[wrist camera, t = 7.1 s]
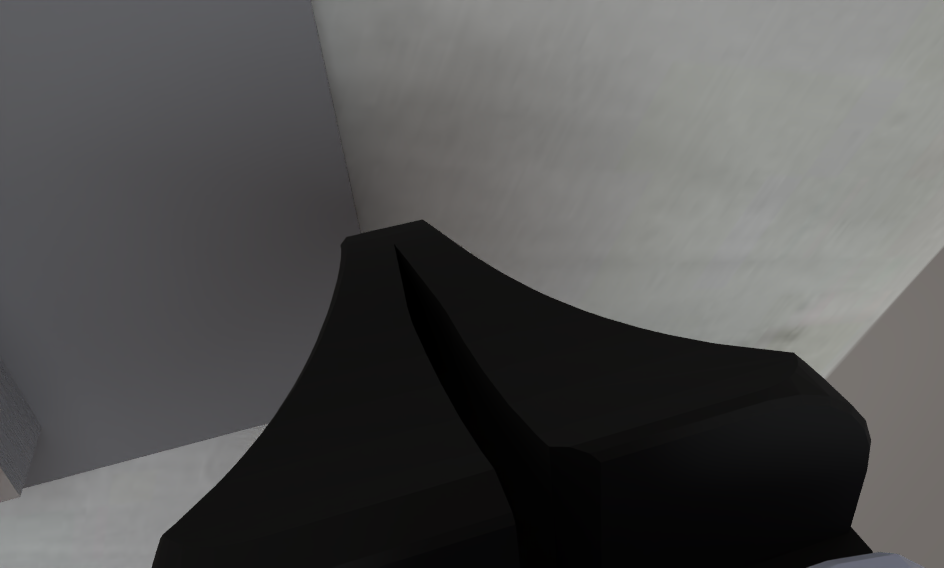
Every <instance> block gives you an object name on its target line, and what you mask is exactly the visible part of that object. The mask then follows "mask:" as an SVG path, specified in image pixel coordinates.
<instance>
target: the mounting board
mask: <svg viewBox="0 0 944 568" xmlns="http://www.w3.org/2000/svg"><path fill="white" fill-rule="evenodd" d="M357 234H361V232H360V228H359V223H358V218H357V214H356V209H355V204H354V200H353V195H352V190H351V186H350V181H349V177H348V172H347V167H346V163H345V158H344V153H343V149H342V144H341V139H340V135H339V130H338V125H337V121H336V116H335V111H334V107H333V102H332V97H331V93H330V88H329V83H328V79H327V74H326V69H325V65H324V60H323V55H322V51H321V46H320V41H319V37H318V32H317V28H316V23H315V18H314V14H313V9H312V4H311V0H0V357H1V359H2V361H3V362H4V364H5V366H6V367H7V369H8V371H9V372H10V374H11V376H12V377H13V379H14V381H15V382H16V384H17V386H18V388H19V389H20V391H21V393H22V394H23V396H24V398H25V399H26V401H27V403H28V404H29V406H30V408H31V409H32V411H33V413H34V414H35V416H36V418H37V419H38V421H39V423H40V424H41V426H42V428H41V431H40V434H39V437H38V441H37V444H36V447H35V450H34V454H33V457H32V460H31V463H30V467H29V470H28V473H27V476H26V480H25V483H24V486H23V488H26V487H30V486H34V485H38V484H41V483H45V482H49V481H53V480H56V479H60V478H64V477H68V476H71V475H75V474H79V473H83V472H86V471H90V470H94V469H98V468H101V467H105V466H109V465H113V464H116V463H120V462H124V461H128V460H131V459H135V458H139V457H143V456H146V455H150V454H154V453H158V452H162V451H165V450H169V449H173V448H177V447H180V446H184V445H188V444H192V443H195V442H199V441H203V440H207V439H210V438H214V437H218V436H222V435H225V434H229V433H233V432H237V431H240V430H244V429H248V428H252V427H255V426H259V425H263V424H267V423H270V421H271V420H272V418H273V417H274V416H275V414H276V413H277V411H278V409H279V408H280V406H281V405H282V403H283V402H284V400H285V399H286V397H287V395H288V394H289V392H290V391H291V389H292V388H293V386H294V384H295V382H296V381H297V379H298V377H299V375H300V373H301V372H302V370H303V368H304V366H305V364H306V362H307V360H308V358H309V356H310V354H311V352H312V350H313V348H314V345H315V343H316V341H317V338H318V336H319V333H320V330H321V328H322V325H323V323H324V320H325V318H326V315H327V313H328V310H329V307H330V303H331V300H332V296H333V293H334V289H335V286H336V282H337V278H338V273H339V268H340V261H341V246H340V245H341V244H342V242H343V241H344V239H345V238H346V237H348V236H353V235H357Z"/></svg>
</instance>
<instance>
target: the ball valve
mask: <svg viewBox="0 0 944 568" xmlns="http://www.w3.org/2000/svg"><path fill="white" fill-rule="evenodd" d="M41 428H42V426H41V424H40V423H39V421H38V419H37V418H36V416H35V414H34V413H33V411H32V409H31V408H30V406H29V404H28V403H27V401H26V399H25V398H24V396H23V394H22V393H21V391H20V389H19V388H18V386H17V384H16V382H15V381H14V379H13V377H12V376H11V374H10V372H9V371H8V369H7V367H6V366H5V364H4V362H3V361H2V359H1V357H0V502H3V501H7V500H10V499H14V498H18V497H20V496H21V493H22V489H23V486H24V483H25V480H26V476H27V473H28V470H29V467H30V463H31V460H32V457H33V454H34V450H35V447H36V444H37V441H38V437H39V434H40V431H41Z"/></svg>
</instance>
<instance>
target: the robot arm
mask: <svg viewBox="0 0 944 568" xmlns="http://www.w3.org/2000/svg"><path fill="white" fill-rule="evenodd" d="M340 246H341V261H340V268H339V273H338V278H337V282H336V286H335V289H334V293H333V296H332V300H331V303H330V307H329V310H328V313H327V315H326V318H325V320H324V323H323V325H322V328H321V330H320V333H319V336H318V338H317V341H316V343H315V345H314V348H313V350H312V352H311V354H310V356H309V358H308V360H307V362H306V364H305V366H304V368H303V370H302V372H301V373H300V375H299V377H298V379H297V381H296V382H295V384H294V386H293V388H292V389H291V391H290V392H289V394H288V395H287V397H286V399H285V400H284V402H283V403H282V405H281V406H280V408H279V409H278V411H277V413H276V414H275V416H274V417H273V418H272V420H271V421H270V423H269V424H268V425H267V427H266V428H265V430H264V431H263V432H262V434H261V435H260V436H259V437H258V439H257V440H256V441H255V442H254V443H253V445H252V446H251V447H250V448H249V449H248V451H247V452H246V453H245V454H244V455H243V457H242V458H241V459H240V460H239V461H238V462H237V464H236V465H235V466H234V467H233V468H232V469H231V470H230V471H229V472H228V473H227V474H226V475H225V477H224V478H223V479H222V480H221V481H220V482H219V483H218V484H217V485H216V486H215V487H214V488H213V489H212V490H211V491H209V492H208V493H207V494H206V495H205V496H204V497H203V498H202V499H201V500H200V501H199V502H198V503H197V504H196V505H195V506H194V507H193V508H192V509H190V510H189V511H188V512H187V513H186V514H185V515H184V516H183V517H182V518H181V519H180V520H179V521H178V522H177V523H176V524H175V525H173V526H172V527H171V528H170V529H169V530H168V531H166V532H165V533H164V534H163V535H162V537H161V538H160V542H159V545H158V548H157V551H156V554H155V558H154V561H153V565H152V568H925V567H923V566H921V565H919V564H917V563H915V562H913V561H911V560H909V559H907V558H905V557H903V556H901V555H899V554H894V553H883V552H877V553H873V552H872V550H871V549H870V548H869V547H868V546H867V544H866V543H865V542H864V541H863V540H862V539H861V538H860V537H859V535H857V533H856V532H855V531H854V530H853V529H852V528H851V524H852V520H853V517H854V513H855V510H856V506H857V503H858V499H859V496H860V493H861V489H862V486H863V482H864V479H865V475H866V472H867V467H868V460H869V452H870V444H871V439H870V435H869V431H868V427H867V423H866V420H865V419H864V418H863V417H862V416H861V415H860V414H859V412H858V411H857V410H856V409H855V408H854V407H853V406H852V405H851V404H850V403H849V402H848V401H847V400H846V399H845V398H844V397H843V396H842V395H841V394H840V393H838V391H836V390H835V389H834V388H833V387H832V386H831V385H830V384H829V383H828V382H827V381H826V380H825V379H824V378H823V377H822V376H820V375H819V374H818V373H817V372H816V371H815V370H814V369H812V368H811V367H810V366H809V365H808V364H807V363H806V362H804V361H803V360H802V359H801V358H799V357H798V356H797V355H796V354H795V353H791V352H782V351H774V350H765V349H756V348H748V347H739V346H730V345H722V344H715V343H709V342H703V341H698V340H693V339H688V338H683V337H677V336H672V335H667V334H663V333H659V332H655V331H650V330H646V329H642V328H638V327H635V326H631V325H628V324H625V323H621V322H618V321H614V320H611V319H607V318H604V317H601V316H598V315H595V314H592V313H589V312H586V311H584V310H581V309H578V308H576V307H573V306H571V305H568V304H566V303H563V302H561V301H558V300H556V299H554V298H551V297H549V296H546V295H544V294H542V293H540V292H538V291H536V290H534V289H532V288H530V287H528V286H526V285H524V284H522V283H520V282H518V281H516V280H514V279H512V278H510V277H509V276H507V275H505V274H503V273H501V272H500V271H498V270H496V269H494V268H493V267H491V266H490V265H488V264H486V263H485V262H483V261H482V260H480V259H478V258H477V257H475V256H474V255H472V254H471V253H469V252H468V251H466V250H465V249H463V248H462V247H461V246H459V245H458V244H456V243H455V242H453V241H452V240H451V239H449V238H448V237H446V236H445V235H444V234H442V233H441V232H440V231H438V230H437V229H435V228H434V227H433V226H431V225H430V224H428V223H427V222H425V221H424V220H419V221H414V222H410V223H405V224H401V225H397V226H392V227H388V228H383V229H379V230H375V231H370V232H366V233H361V234H357V235H353V236H348V237H346V238H345V239H344V241H343V242H342V244H341V245H340Z"/></svg>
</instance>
